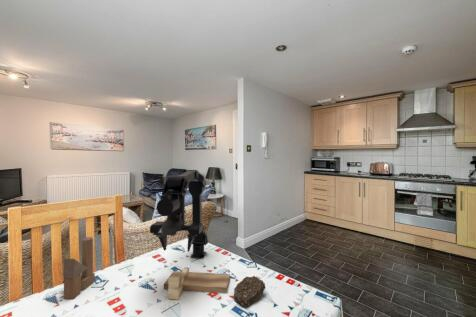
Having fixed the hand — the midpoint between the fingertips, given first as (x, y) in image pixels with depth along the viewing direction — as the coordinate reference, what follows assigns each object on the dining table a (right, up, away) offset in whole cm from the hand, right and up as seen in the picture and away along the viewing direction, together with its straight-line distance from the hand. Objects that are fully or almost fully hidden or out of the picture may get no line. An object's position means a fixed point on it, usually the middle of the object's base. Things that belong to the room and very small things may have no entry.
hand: (176, 250), depth 78 cm
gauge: (+1, -15, +1) cm, 15 cm away
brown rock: (+27, -15, -3) cm, 31 cm away
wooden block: (-36, -15, 0) cm, 39 cm away
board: (+7, -15, +4) cm, 17 cm away
